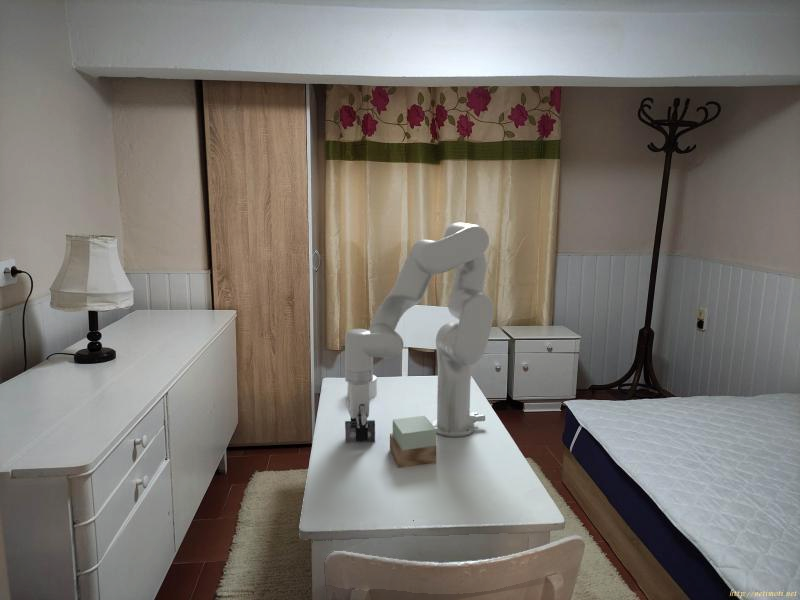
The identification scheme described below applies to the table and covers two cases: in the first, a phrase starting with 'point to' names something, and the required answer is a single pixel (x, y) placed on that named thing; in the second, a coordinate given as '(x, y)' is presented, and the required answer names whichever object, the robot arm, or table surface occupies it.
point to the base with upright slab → (373, 387)
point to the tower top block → (414, 432)
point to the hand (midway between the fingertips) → (358, 433)
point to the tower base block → (412, 455)
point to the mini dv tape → (351, 431)
